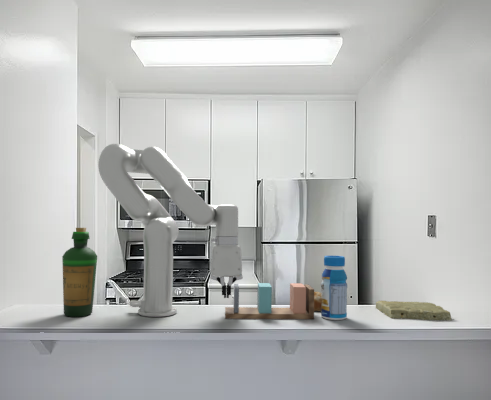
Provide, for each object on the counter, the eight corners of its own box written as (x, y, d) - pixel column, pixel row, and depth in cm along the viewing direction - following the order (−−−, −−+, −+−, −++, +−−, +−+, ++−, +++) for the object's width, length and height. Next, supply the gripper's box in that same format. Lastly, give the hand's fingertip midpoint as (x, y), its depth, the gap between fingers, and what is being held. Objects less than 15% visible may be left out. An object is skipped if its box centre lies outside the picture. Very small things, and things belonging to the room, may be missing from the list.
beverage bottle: (341, 322, 136) (342, 258, 137) (316, 318, 141) (317, 256, 141) (350, 317, 143) (351, 256, 144) (326, 313, 148) (327, 254, 149)
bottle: (52, 317, 136) (56, 227, 137) (73, 310, 147) (76, 227, 148) (82, 319, 134) (85, 228, 135) (101, 312, 144) (104, 227, 145)
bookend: (233, 312, 139) (234, 288, 139) (233, 306, 148) (233, 283, 148) (238, 312, 139) (239, 288, 139) (237, 306, 148) (238, 283, 148)
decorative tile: (375, 308, 160) (375, 299, 160) (430, 310, 159) (430, 300, 159) (390, 320, 141) (390, 309, 141) (453, 322, 141) (453, 311, 141)
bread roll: (324, 323, 150) (335, 302, 150) (298, 308, 152) (308, 288, 152) (324, 316, 160) (333, 297, 160) (299, 303, 162) (308, 284, 161)
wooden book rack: (225, 318, 138) (225, 288, 139) (225, 311, 148) (225, 283, 149) (313, 319, 140) (314, 289, 140) (308, 312, 150) (308, 284, 150)
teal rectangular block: (259, 313, 140) (259, 286, 140) (257, 308, 148) (257, 283, 148) (271, 313, 140) (271, 286, 140) (269, 308, 148) (269, 283, 148)
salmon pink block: (293, 313, 140) (293, 287, 141) (289, 308, 148) (290, 283, 149) (305, 313, 141) (305, 287, 141) (301, 308, 149) (301, 283, 149)
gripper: (203, 242, 140) (203, 299, 139) (249, 242, 141) (249, 299, 140) (204, 241, 148) (204, 295, 147) (248, 241, 148) (248, 295, 148)
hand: (226, 297), depth 144 cm, fingers closed
